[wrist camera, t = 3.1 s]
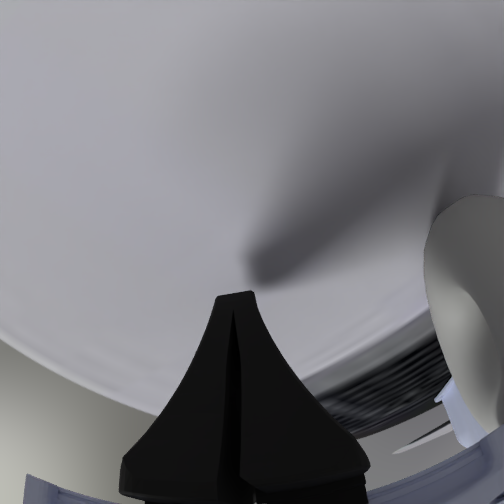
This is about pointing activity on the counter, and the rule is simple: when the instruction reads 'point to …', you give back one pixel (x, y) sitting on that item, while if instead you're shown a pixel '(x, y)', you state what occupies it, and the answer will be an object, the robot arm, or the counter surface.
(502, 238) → the donut
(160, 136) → the counter surface
